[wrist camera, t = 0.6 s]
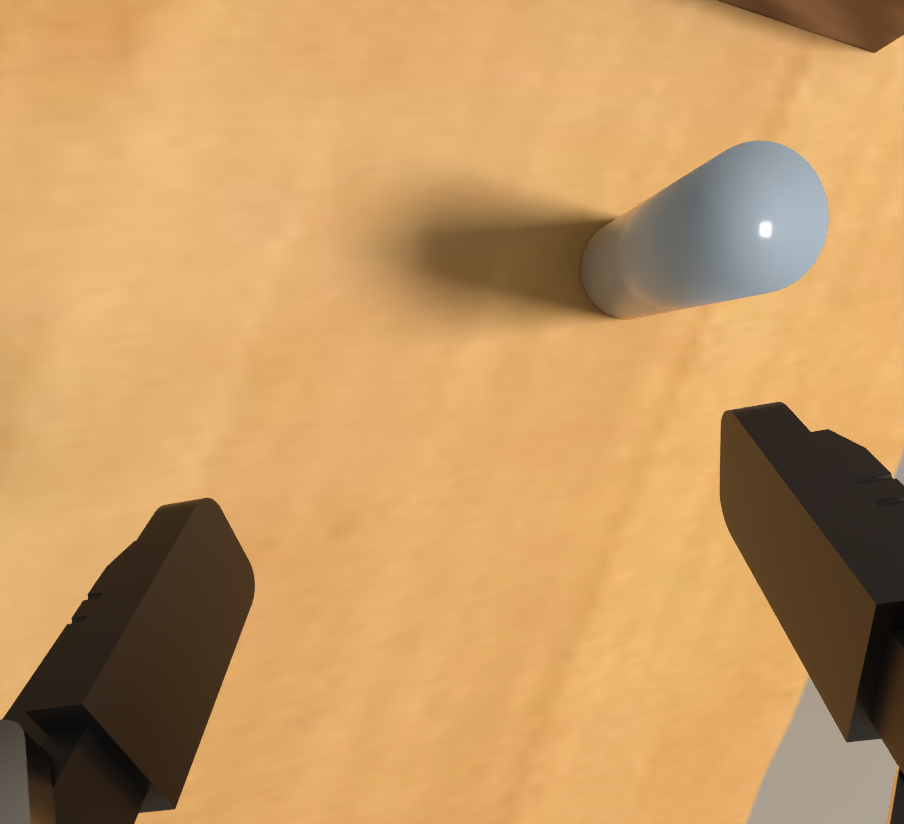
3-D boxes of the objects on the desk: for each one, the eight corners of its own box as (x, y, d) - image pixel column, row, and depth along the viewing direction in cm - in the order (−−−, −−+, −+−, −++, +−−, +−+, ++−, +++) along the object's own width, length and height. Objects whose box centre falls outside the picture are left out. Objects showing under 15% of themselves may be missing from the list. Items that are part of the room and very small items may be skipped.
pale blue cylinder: (562, 252, 31) (662, 190, 20) (644, 200, 32) (785, 112, 21) (612, 337, 32) (735, 321, 21) (691, 286, 32) (852, 244, 21)
